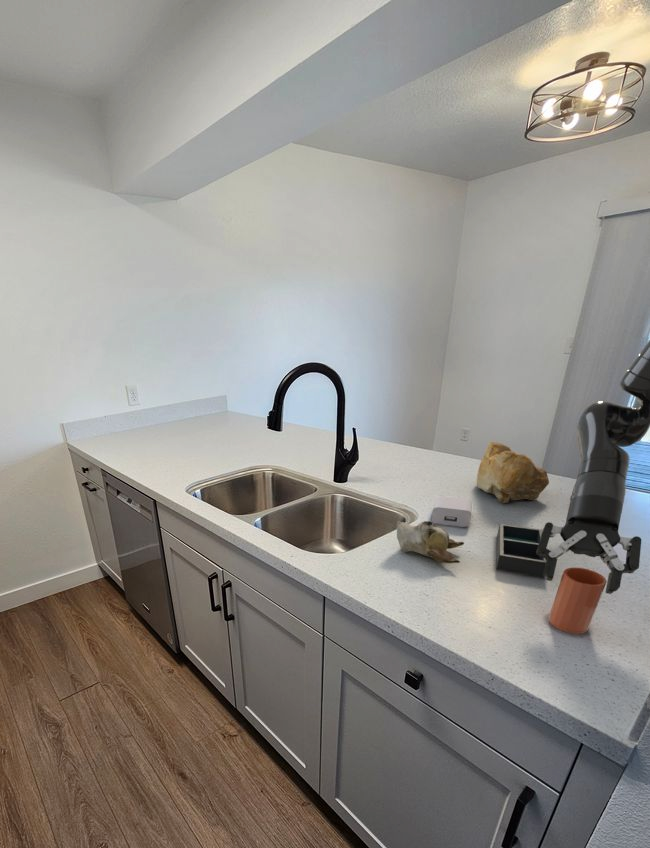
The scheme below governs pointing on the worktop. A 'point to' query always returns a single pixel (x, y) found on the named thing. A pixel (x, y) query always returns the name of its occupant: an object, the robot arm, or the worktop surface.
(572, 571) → the cup
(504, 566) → the holder
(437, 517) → the charger
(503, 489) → the rough brown rock
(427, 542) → the ceramic sculpture
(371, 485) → the worktop surface
